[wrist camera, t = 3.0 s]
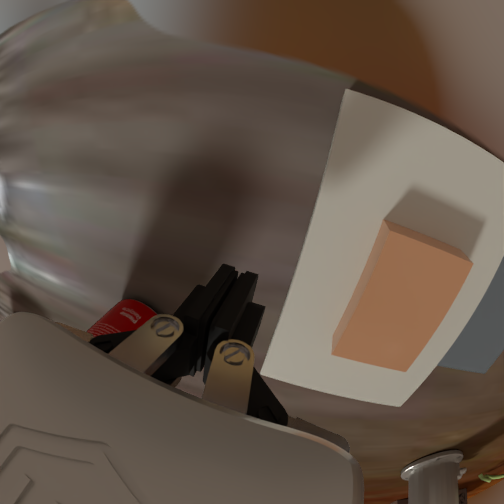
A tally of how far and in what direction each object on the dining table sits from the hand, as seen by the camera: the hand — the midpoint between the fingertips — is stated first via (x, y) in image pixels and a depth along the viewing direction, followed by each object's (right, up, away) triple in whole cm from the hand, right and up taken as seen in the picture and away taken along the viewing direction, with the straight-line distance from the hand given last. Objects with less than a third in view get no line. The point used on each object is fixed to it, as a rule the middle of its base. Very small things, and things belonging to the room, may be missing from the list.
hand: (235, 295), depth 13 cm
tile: (+10, -1, +3) cm, 11 cm away
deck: (+11, +1, +7) cm, 13 cm away
